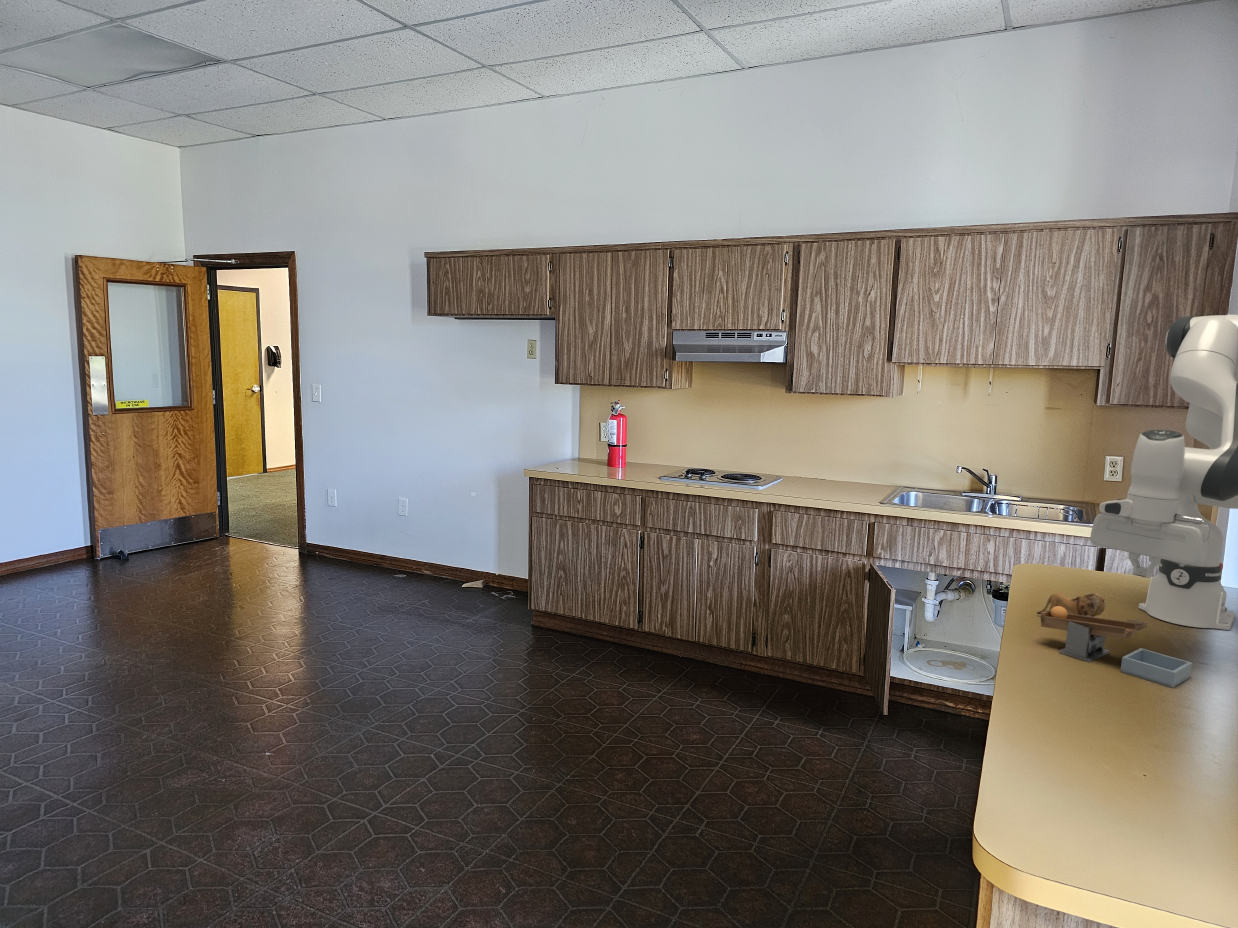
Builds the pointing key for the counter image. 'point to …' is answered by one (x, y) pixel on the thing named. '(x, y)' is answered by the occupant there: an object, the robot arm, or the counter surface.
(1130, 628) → the lever
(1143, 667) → the tray
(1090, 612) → the lion figurine
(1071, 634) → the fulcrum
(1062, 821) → the counter surface
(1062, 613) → the ball
